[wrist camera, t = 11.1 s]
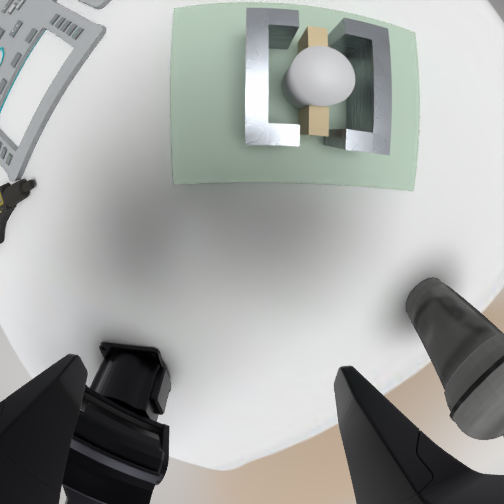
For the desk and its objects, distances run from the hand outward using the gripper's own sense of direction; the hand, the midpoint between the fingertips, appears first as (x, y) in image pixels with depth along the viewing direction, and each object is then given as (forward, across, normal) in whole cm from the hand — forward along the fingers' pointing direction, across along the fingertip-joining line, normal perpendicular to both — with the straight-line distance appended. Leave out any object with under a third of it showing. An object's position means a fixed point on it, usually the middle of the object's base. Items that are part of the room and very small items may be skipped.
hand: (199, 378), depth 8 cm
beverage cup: (+12, -18, +6) cm, 23 cm away
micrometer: (+13, +21, -3) cm, 25 cm away
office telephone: (+13, +18, -20) cm, 30 cm away
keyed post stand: (+12, -5, -10) cm, 16 cm away
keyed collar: (+11, -5, -10) cm, 15 cm away
